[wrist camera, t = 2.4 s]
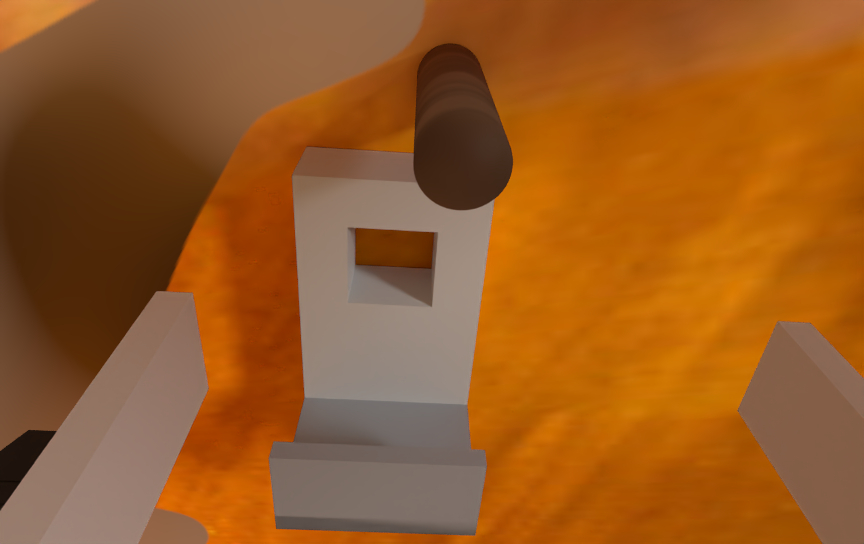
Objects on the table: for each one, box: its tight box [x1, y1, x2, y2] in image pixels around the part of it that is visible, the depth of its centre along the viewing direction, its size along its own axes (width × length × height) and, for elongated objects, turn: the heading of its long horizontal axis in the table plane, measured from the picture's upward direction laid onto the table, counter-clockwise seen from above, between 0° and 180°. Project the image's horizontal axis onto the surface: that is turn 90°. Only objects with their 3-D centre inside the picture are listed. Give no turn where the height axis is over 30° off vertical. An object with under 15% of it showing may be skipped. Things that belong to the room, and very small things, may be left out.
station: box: [269, 147, 494, 535], centre depth 37 cm, size 19×12×15 cm, turn 176°
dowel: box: [413, 44, 513, 210], centre depth 30 cm, size 4×4×15 cm
